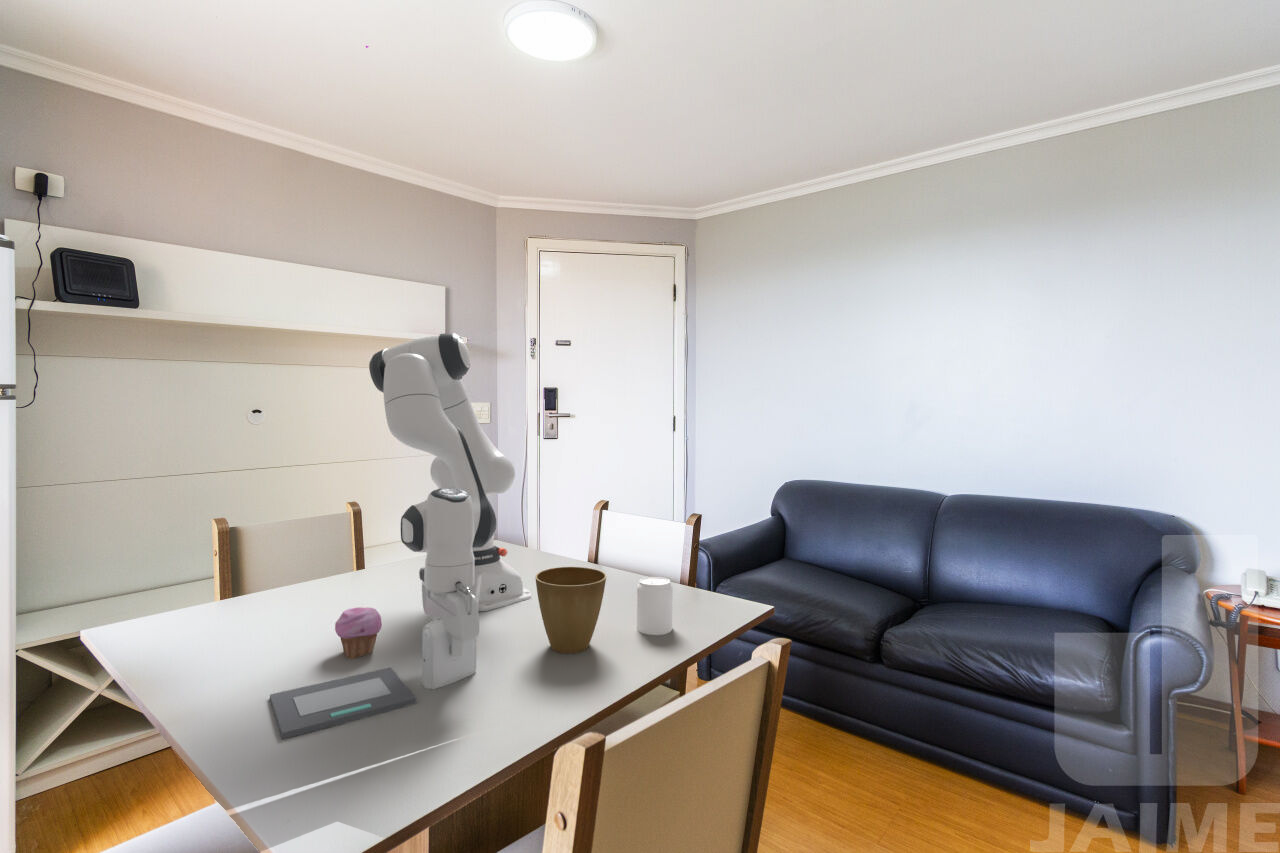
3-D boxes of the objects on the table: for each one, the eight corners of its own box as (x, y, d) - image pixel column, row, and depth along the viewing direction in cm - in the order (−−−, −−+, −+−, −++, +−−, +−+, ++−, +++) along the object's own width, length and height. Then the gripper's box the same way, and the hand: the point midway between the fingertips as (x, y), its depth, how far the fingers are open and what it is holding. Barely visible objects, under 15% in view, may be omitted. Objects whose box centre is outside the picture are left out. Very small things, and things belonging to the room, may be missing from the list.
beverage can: (679, 632, 143) (679, 580, 143) (655, 641, 137) (656, 587, 137) (652, 624, 148) (653, 574, 148) (629, 632, 142) (629, 580, 142)
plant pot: (521, 657, 128) (521, 579, 127) (556, 633, 141) (557, 563, 141) (586, 668, 122) (586, 587, 122) (616, 643, 136) (617, 570, 136)
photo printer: (431, 693, 111) (431, 624, 111) (418, 686, 114) (418, 618, 113) (479, 674, 119) (480, 610, 119) (466, 668, 122) (466, 605, 121)
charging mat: (390, 672, 119) (390, 666, 119) (416, 703, 107) (416, 697, 107) (269, 700, 107) (269, 693, 107) (282, 739, 95) (282, 731, 95)
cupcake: (330, 654, 128) (330, 606, 128) (374, 645, 133) (374, 598, 133) (342, 668, 121) (342, 617, 121) (387, 657, 127) (388, 609, 126)
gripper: (488, 586, 109) (488, 664, 110) (447, 563, 126) (447, 631, 126) (453, 592, 106) (452, 673, 106) (416, 568, 122) (415, 638, 122)
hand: (449, 650), depth 116 cm, fingers closed on photo printer, 5 cm apart
